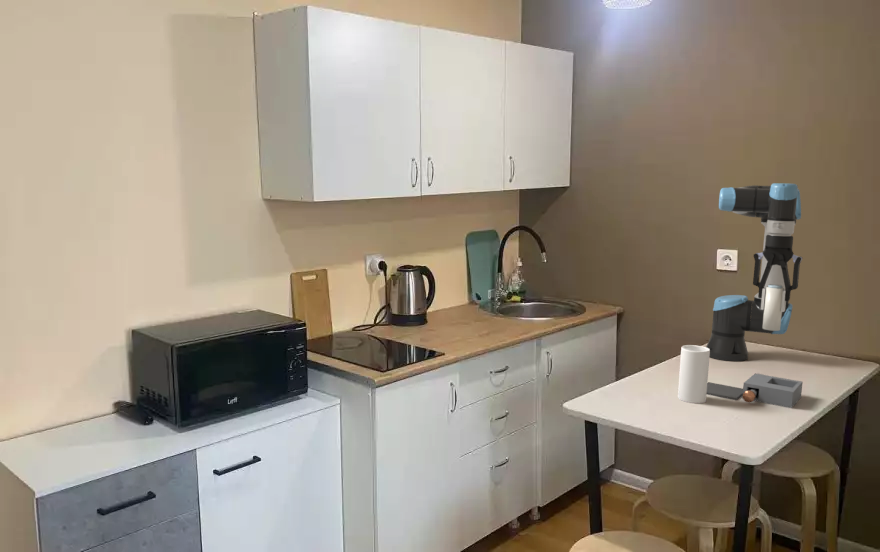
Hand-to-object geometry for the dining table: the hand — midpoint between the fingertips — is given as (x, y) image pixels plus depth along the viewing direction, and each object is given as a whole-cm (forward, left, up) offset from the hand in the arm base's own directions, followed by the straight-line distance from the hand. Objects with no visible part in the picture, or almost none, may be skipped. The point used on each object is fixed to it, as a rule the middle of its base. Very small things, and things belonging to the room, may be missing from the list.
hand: (772, 309), depth 222 cm
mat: (+4, -12, -28) cm, 30 cm away
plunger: (+7, -2, -27) cm, 28 cm away
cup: (+18, -17, -28) cm, 37 cm away
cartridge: (0, 0, -6) cm, 6 cm away
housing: (0, +2, -28) cm, 28 cm away
